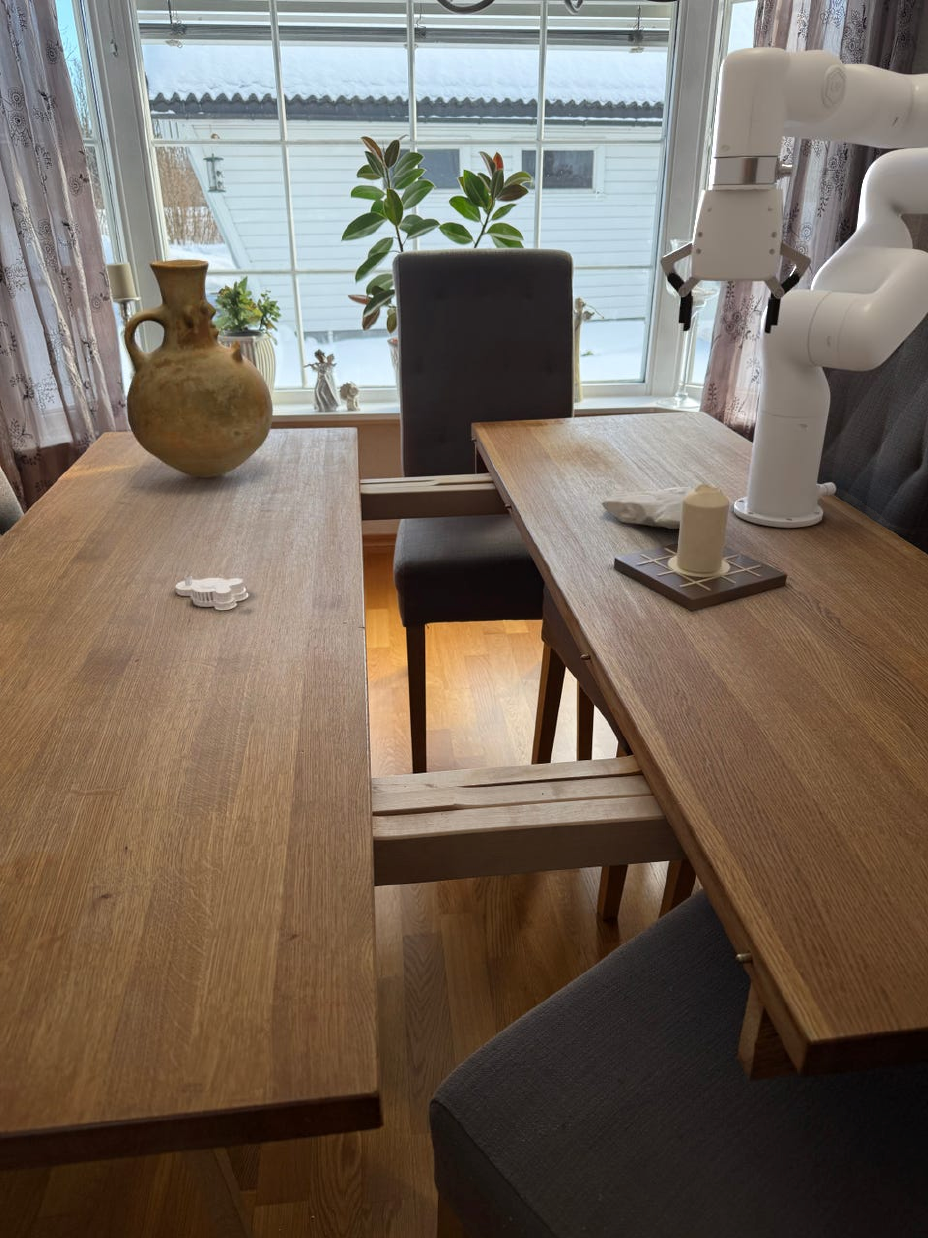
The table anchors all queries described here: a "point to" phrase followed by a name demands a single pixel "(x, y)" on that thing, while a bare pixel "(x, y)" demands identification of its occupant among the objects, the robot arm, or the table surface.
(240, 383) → the vase
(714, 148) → the robot arm
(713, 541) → the candle
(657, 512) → the rock
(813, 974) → the table surface
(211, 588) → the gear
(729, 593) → the board
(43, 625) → the table surface
